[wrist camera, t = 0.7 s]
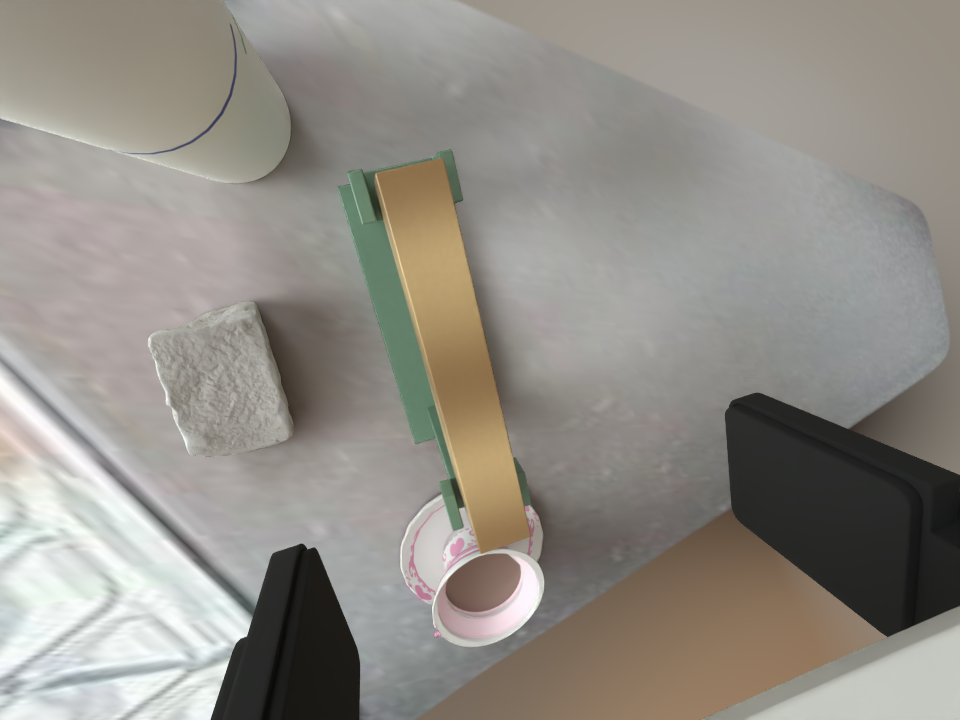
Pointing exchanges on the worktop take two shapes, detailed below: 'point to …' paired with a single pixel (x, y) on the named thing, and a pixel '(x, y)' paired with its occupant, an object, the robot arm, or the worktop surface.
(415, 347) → the hanger stand
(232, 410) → the grey stone block
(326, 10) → the worktop surface
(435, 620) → the teacup
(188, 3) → the cylindrical container
